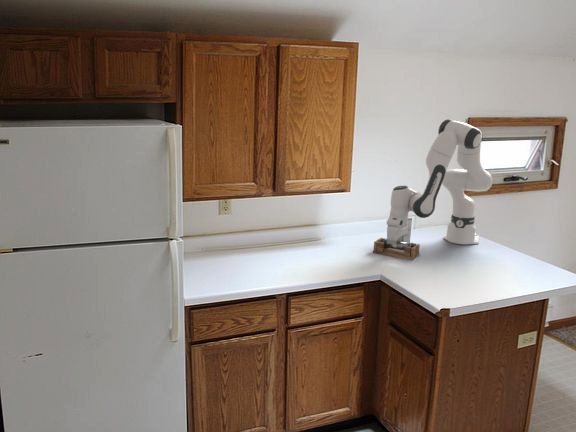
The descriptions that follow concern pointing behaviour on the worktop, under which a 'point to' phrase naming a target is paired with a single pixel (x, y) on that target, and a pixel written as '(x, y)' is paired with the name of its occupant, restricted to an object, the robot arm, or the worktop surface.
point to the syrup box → (407, 236)
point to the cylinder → (399, 244)
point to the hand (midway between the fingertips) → (396, 245)
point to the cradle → (396, 250)
